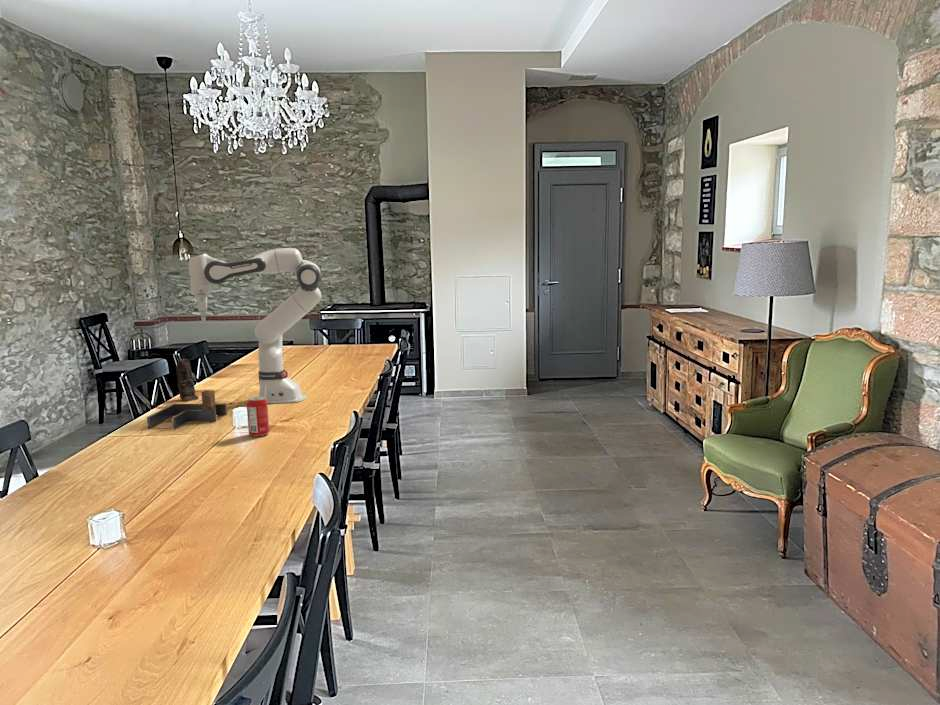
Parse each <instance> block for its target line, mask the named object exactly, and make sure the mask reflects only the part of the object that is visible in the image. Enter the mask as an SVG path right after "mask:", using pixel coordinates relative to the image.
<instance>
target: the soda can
mask: <svg viewBox="0 0 940 705" xmlns="http://www.w3.org/2000/svg"><path fill="white" fill-rule="evenodd" d="M268 408H269V406H268V404H267V400H266V399H265V397H262V396H259V395H258V396H257V395H256V396H251V397H248V399H247V401H246V414H247V426H248V434H249V436H252V437H253V436H254V437H255V438H257V437H259V436H261V437H265V436H267V435H268V434H269V433H270V424H269V423H270V422H269V409H268ZM264 435H265V436H264Z"/></svg>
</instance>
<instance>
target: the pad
mask: <svg viewBox="0 0 940 705" xmlns="http://www.w3.org/2000/svg"><path fill="white" fill-rule="evenodd" d="M153 429H174V427H173V422H162V423H161V424H159V425H157V426H155V427H153Z"/></svg>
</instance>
